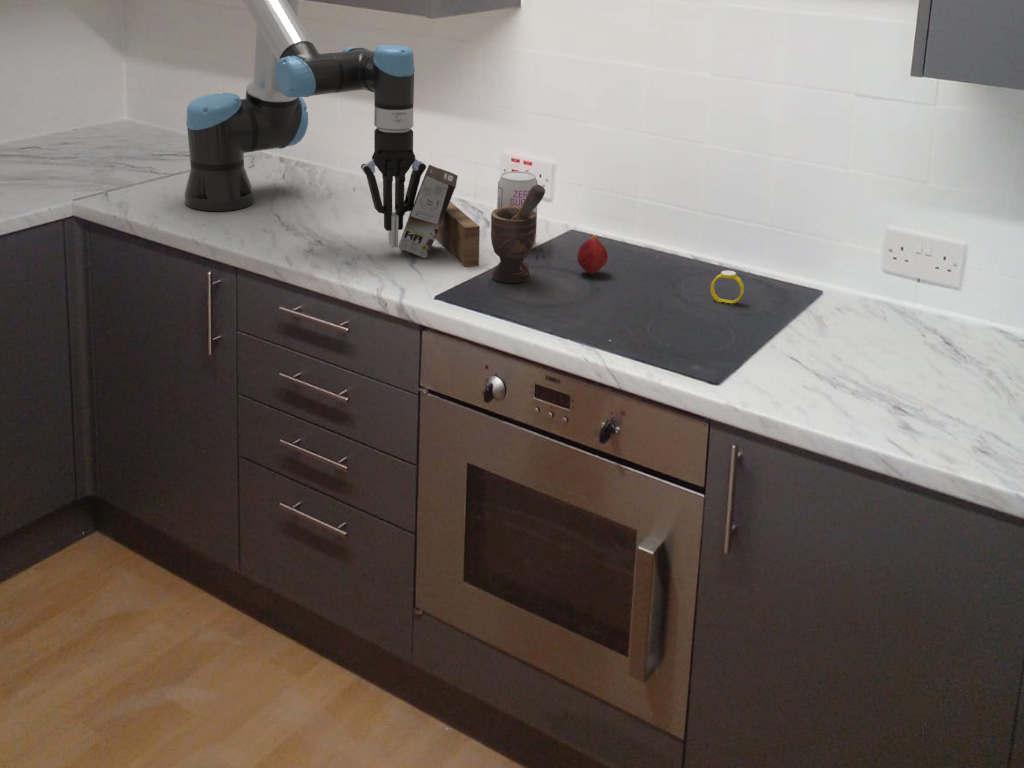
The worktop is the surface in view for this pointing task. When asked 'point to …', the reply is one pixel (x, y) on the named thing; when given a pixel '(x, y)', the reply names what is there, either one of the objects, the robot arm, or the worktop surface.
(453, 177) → the coffee box
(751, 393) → the worktop surface
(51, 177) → the worktop surface
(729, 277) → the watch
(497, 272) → the mortar and pestle
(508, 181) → the supplement can
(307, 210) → the worktop surface
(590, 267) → the onion
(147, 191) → the worktop surface
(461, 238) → the wooden board
